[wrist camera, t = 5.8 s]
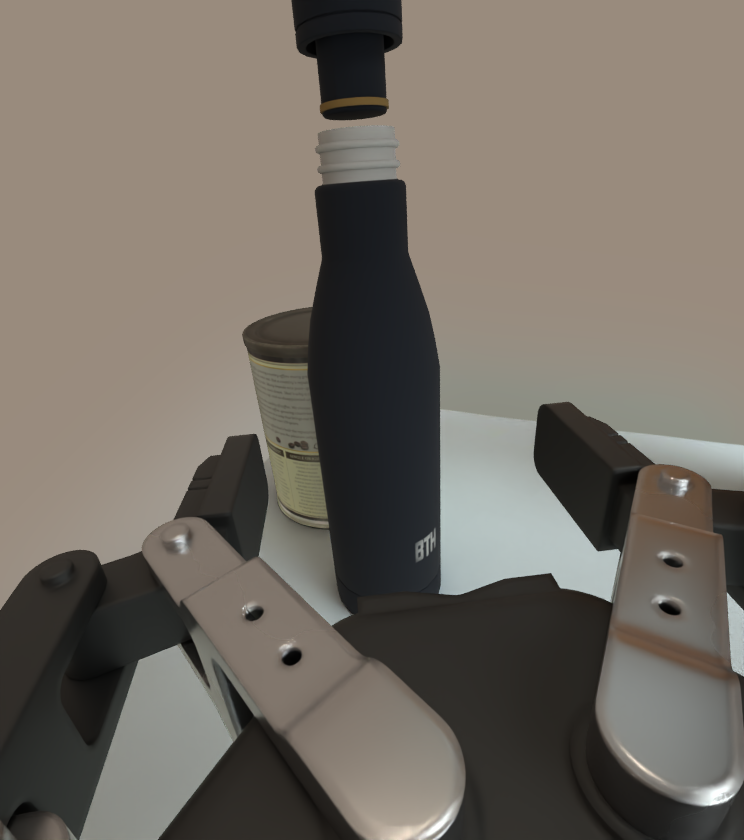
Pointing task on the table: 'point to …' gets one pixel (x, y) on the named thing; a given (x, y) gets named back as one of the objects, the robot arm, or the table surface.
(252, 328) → the coffee can
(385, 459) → the dark blue water bottle
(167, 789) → the table surface
